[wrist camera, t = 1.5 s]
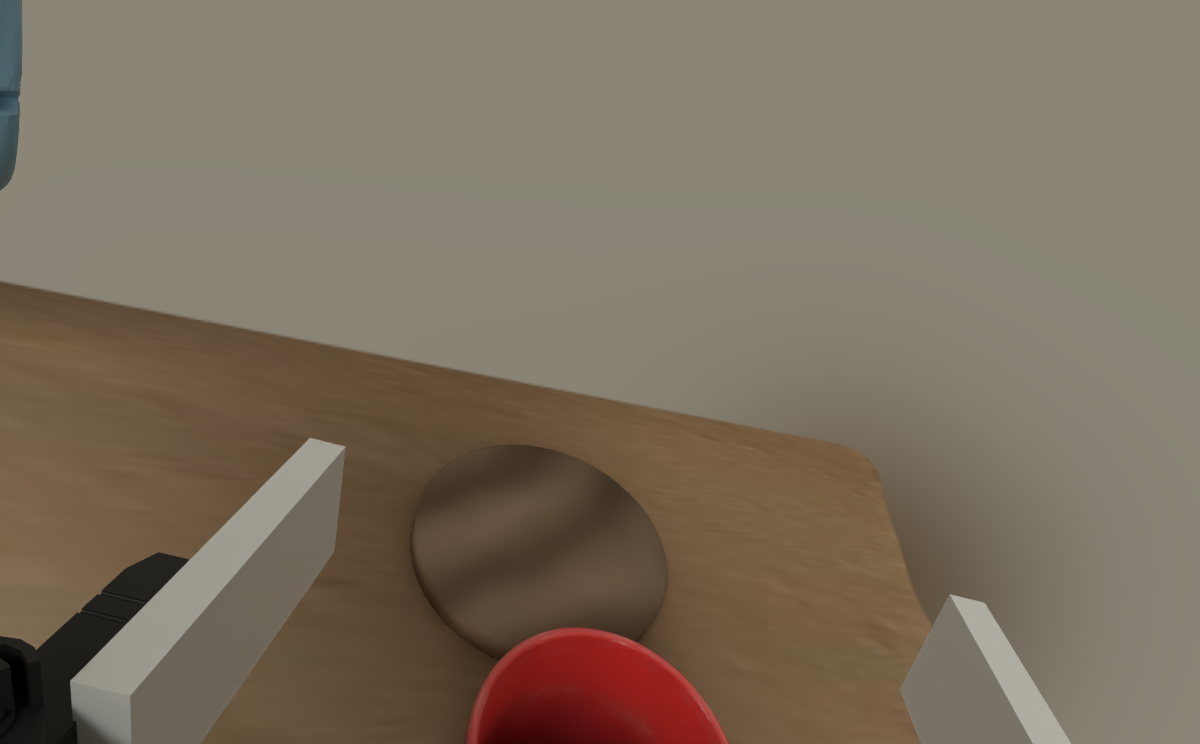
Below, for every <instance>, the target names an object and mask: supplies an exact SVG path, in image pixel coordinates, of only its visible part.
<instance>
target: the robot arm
mask: <svg viewBox="0 0 1200 744" xmlns="http://www.w3.org/2000/svg"><path fill="white" fill-rule="evenodd" d="M21 75H22V0H0V190H1V189H3V188H4V187H5V186H6V185H7V184H8V183H9V181H10V180H11V178H12V175H13V172H14V168H15V162H16V155H17V145H18V134H19V115H20V112H19V111H20V109H19V101H18V97H19V95H20V81H21ZM345 448H346V447H345V446H341V445H337V444H333V443H329V442H325V441H321V440H316V439H312V438H309V439H308V441H307V442H306V443H305V444H304V445H303V446H302V447H301V448H300V449H299V450H298V451H297V452H296V453H295V454H294V455H293V456H292V457H291V458H290V459H289V460H288V461H287V462H286V463H285V464H284V465H283V466H282V467H281V468H280V469H279V470H278V471H277V472H276V473H275V474H274V475H273V476H272V477H271V478H270V479H269V480H268V481H267V482H266V483H265V484H264V485H263V486H262V487H261V488H260V489H259V490H258V491H257V492H256V493H255V494H254V495H253V496H252V497H251V498H250V499H249V500H248V501H247V502H246V503H245V504H244V505H243V506H242V507H241V508H240V509H239V510H238V512H237V513H236V514H235V515H234V516H233V517H232V518H231V519H230V520H229V521H228V522H227V523H226V524H225V525H224V526H223V527H222V528H221V529H220V530H219V531H218V532H217V533H216V534H215V535H214V536H213V537H212V538H211V539H210V540H209V541H208V542H207V543H206V544H205V545H204V546H203V547H202V548H201V549H200V550H199V551H198V552H197V553H196V554H195V555H194V556H193V557H192V558H191V559H190V560H188V559H184V558H180V557H176V556H172V555H168V554H164V553H160V552H158V553H156V554H154V555H152V556H150V557H148V558H146V559H144V560H142V561H140V562H138V563H136V564H134V565H132V566H130V567H128V568H126V569H125V570H124V571H123V572H121V573H120V574H119V575H118V576H117V577H116V578H115V579H114V580H113V581H112V582H110V583H109V584H108V585H107V586H106V587H105V588H104V589H103V590H102V592H101V594H100V595H98V594H97V595H96V596H95V597H94V598H93V599H92V600H91V601H90V602H88V603H87V604H86V605H85V606H84V607H83V608H82V611H81V612H80V613H76V614H75V615H74V616H73V617H72V618H71V619H70V620H69V621H68V622H66V623H65V624H64V625H63V626H62V627H61V628H60V629H59V630H58V631H57V632H56V633H54V634H53V635H52V636H51V637H50V638H49V639H48V640H47V641H46V642H45V643H43V644H42V645H41V646H40V647H39V648H38V649H37V650H35V648H34V647H33V646H31V645H29V644H28V643H26V642H24V641H22V640H21V639H15V638H8V637H1V636H0V744H201V743H202V741H203V740H204V739H205V737H206V736H207V734H208V733H209V731H210V730H211V729H212V727H213V726H214V724H215V723H216V721H217V720H218V718H219V717H220V716H221V714H222V713H223V711H224V710H225V708H226V707H227V706H228V704H229V703H230V701H231V700H232V698H233V697H234V695H235V694H236V693H237V691H238V690H239V688H240V687H241V685H242V684H243V683H244V681H245V680H246V678H247V677H248V675H249V674H250V672H251V671H252V670H253V668H254V667H255V665H256V664H257V662H258V661H259V660H260V658H261V657H262V655H263V654H264V652H265V651H266V650H267V648H268V647H269V645H270V644H271V642H272V641H273V639H274V638H275V637H276V635H277V634H278V632H279V631H280V629H281V628H282V627H283V625H284V624H285V622H286V621H287V619H288V618H289V616H290V615H291V614H292V612H293V611H294V609H295V608H296V606H297V605H298V604H299V602H300V601H301V599H302V598H303V596H304V595H305V593H306V592H307V591H308V589H309V588H310V586H311V585H312V583H313V582H314V581H315V579H316V578H317V576H318V575H319V573H320V572H321V570H322V569H323V568H324V566H325V565H326V563H327V562H328V560H329V559H330V558H331V556H332V555H333V553H334V551H335V541H336V532H337V523H338V513H339V504H340V495H341V486H342V476H343V467H344V458H345ZM900 691H901V694H902V696H903V699H904V702H905V704H906V707H907V709H908V712H909V714H910V717H911V720H912V722H913V725H914V727H915V730H916V732H917V735H918V738H919V740H920V743H921V744H1071V743H1070V741H1069V739H1068V738H1067V736H1066V735H1065V733H1064V731H1063V730H1062V728H1061V726H1060V725H1059V723H1058V721H1057V720H1056V718H1055V717H1054V715H1053V713H1052V712H1051V710H1050V709H1049V707H1048V705H1047V704H1046V702H1045V700H1044V699H1043V697H1042V696H1041V694H1040V692H1039V691H1038V689H1037V687H1036V686H1035V684H1034V682H1033V681H1032V679H1031V678H1030V676H1029V674H1028V673H1027V671H1026V669H1025V668H1024V666H1023V665H1022V663H1021V661H1020V660H1019V658H1018V657H1017V655H1016V653H1015V652H1014V650H1013V649H1012V647H1011V645H1010V644H1009V642H1008V640H1007V639H1006V637H1005V636H1004V634H1003V632H1002V630H1001V629H1000V627H999V626H998V624H997V622H996V621H995V619H994V617H993V616H992V614H991V613H990V611H989V609H988V608H987V606H986V604H985V603H982V602H979V601H975V600H970V599H966V598H962V597H958V596H954V595H949V597H948V599H947V601H946V603H945V604H944V606H943V608H942V610H941V612H940V614H939V616H938V618H937V620H936V622H935V623H934V625H933V627H932V629H931V631H930V633H929V635H928V637H927V639H926V640H925V642H924V644H923V646H922V648H921V650H920V652H919V654H918V656H917V658H916V659H915V661H914V663H913V665H912V667H911V669H910V671H909V673H908V675H907V677H906V678H905V680H904V682H903V684H902V686H901V688H900Z"/></svg>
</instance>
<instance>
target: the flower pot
mask: <svg viewBox="0 0 1200 744" xmlns="http://www.w3.org/2000/svg"><path fill="white" fill-rule="evenodd" d="M464 744H729V743H728V740H727V738H726V736H725V734H724V731H723V730H722V728H721V726H720V724H719V722H718V720H717V718H716V717H715V715H714V714H713V712H712V711H711V709H710V707H709V706H708V705H707V703H706V702H705V700H704V699H703V698H702V696H701V695H700V694H699V693H698V691H697V690H696V689H695V688H694V686H693V685H692V684H691V683H690V682H689V681H688V680H687V679H686V678H685V677H684V676H683V675H682V674H681V673H680V672H679V671H678V670H677V669H676V668H674V667H673V666H672V665H671V664H670V663H668V662H667V661H666V660H665V659H663V658H662V657H660V656H659V655H657V654H656V653H654V652H653V651H651V650H650V649H648V648H646V647H645V646H643V645H641V644H639V643H637V642H635V641H632V640H630V639H628V638H625V637H623V636H620V635H617V634H614V633H610V632H606V631H602V630H597V629H591V628H581V627H568V628H560V629H554V630H550V631H546V632H543V633H540V634H537V635H535V636H533V637H530V638H528V639H526V640H524V641H523V642H521V643H519V644H518V645H517V646H515V647H514V648H512V649H511V650H510V651H509V652H508V653H507V654H505V655H504V656H503V657H502V658H501V659H500V661H499V662H498V663H497V664H496V665H495V666H494V668H493V669H492V670H491V672H490V673H489V675H488V676H487V678H486V679H485V681H484V683H483V685H482V687H481V688H480V690H479V692H478V695H477V697H476V700H475V702H474V705H473V709H472V712H471V716H470V719H469V723H468V727H467V732H466V737H465V742H464Z"/></svg>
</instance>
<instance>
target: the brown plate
mask: <svg viewBox="0 0 1200 744" xmlns="http://www.w3.org/2000/svg"><path fill="white" fill-rule="evenodd" d="M411 556H412V562H413V567H414V570H415V573H416V577H417V580H418V582H419V584H420V586H421V588H422V590H423V592H424V595H425V596H426V598H427V599H428V601H429V602H430V604H431V605H432V607H433V608H434V610H435V611H436V612H437V613H438V615H439V616H440V617H441V618H442V619H443V620H444V621H445V623H446V624H447V625H448V626H450V627H451V628H452V629H453V630H454V631H455V632H456V633H457V634H458V635H460V636H461V637H462V638H463V639H465V640H466V641H468V642H469V643H471V644H472V645H473V646H475V647H476V648H478V649H480V650H482V651H484V652H485V653H487V654H489V655H491V656H493V657H495V658H497V659H501V658H502V657H503V656H504V655H505V654H507V653H508V652H509V651H510V650H511V649H512V648H514V647H515V646H517V645H518V644H519V643H521V642H523V641H524V640H526V639H528V638H530V637H533V636H535V635H537V634H540V633H543V632H546V631H550V630H554V629H560V628H568V627H581V628H591V629H597V630H602V631H606V632H610V633H614V634H617V635H620V636H623V637H625V638H628V639H630V640H632V641H635V642H637V641H638V640H639V639H640V638H641V636H642V635H643V634H644V632H645V631H646V630H647V628H648V626H649V625H650V623H651V622H652V620H653V619H654V617H655V616H656V614H657V612H658V610H659V608H660V606H661V604H662V601H663V598H664V594H665V590H666V582H667V566H666V560H665V555H664V551H663V548H662V544H661V541H660V539H659V537H658V534H657V532H656V530H655V528H654V526H653V524H652V523H651V521H650V519H649V518H648V516H647V515H646V513H645V512H644V511H643V509H642V508H641V507H640V505H639V504H638V503H637V502H636V501H635V500H634V499H633V498H632V497H631V495H630V494H629V493H628V492H626V491H625V490H624V489H623V488H622V487H621V486H620V485H619V484H618V483H616V482H615V481H614V480H612V479H611V478H610V477H608V476H607V475H605V474H604V473H602V472H601V471H599V470H597V469H596V468H594V467H592V466H590V465H589V464H587V463H585V462H583V461H581V460H578V459H576V458H574V457H571V456H569V455H566V454H563V453H560V452H556V451H553V450H549V449H544V448H540V447H533V446H525V445H503V446H494V447H488V448H483V449H479V450H476V451H473V452H470V453H468V454H465V455H463V456H461V457H459V458H457V459H455V460H454V461H452V462H451V463H449V464H447V465H446V466H445V467H444V468H443V469H442V470H440V471H439V472H438V473H437V474H436V475H435V477H434V478H433V479H432V480H431V481H430V483H429V484H428V486H427V488H426V489H425V491H424V493H423V495H422V498H421V501H420V503H419V506H418V509H417V512H416V516H415V519H414V522H413V527H412V532H411Z"/></svg>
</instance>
